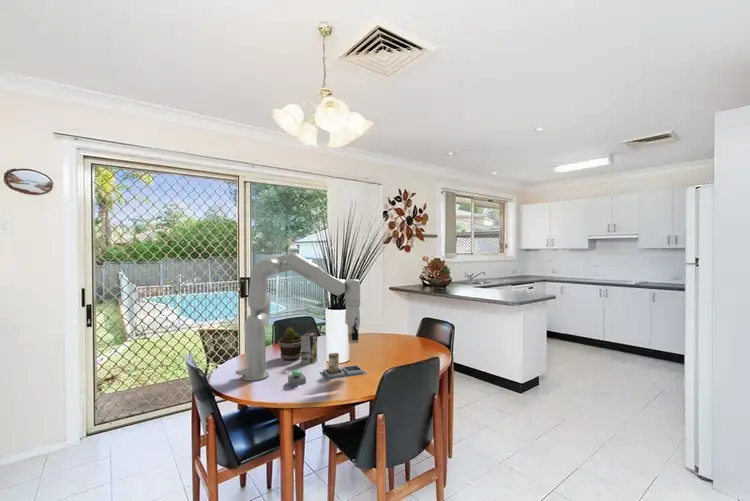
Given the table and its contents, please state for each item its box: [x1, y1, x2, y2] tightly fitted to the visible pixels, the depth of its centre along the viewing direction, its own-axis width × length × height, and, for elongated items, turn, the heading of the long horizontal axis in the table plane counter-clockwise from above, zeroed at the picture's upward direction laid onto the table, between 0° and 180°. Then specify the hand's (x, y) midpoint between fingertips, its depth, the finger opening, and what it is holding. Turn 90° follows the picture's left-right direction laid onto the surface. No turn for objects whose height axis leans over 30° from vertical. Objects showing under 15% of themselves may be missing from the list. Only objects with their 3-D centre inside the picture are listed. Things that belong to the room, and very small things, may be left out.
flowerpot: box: [277, 326, 301, 362], centre depth 212 cm, size 14×15×20 cm
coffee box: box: [300, 332, 318, 366], centre depth 204 cm, size 9×6×16 cm
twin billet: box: [328, 352, 340, 374], centre depth 181 cm, size 5×5×10 cm
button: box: [291, 369, 303, 378], centre depth 171 cm, size 4×4×4 cm
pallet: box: [318, 364, 368, 381], centre depth 183 cm, size 22×12×3 cm, turn 113°
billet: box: [347, 325, 359, 344], centre depth 185 cm, size 5×5×10 cm
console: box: [287, 373, 307, 389], centre depth 171 cm, size 7×7×4 cm
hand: (353, 338), depth 185 cm, fingers closed on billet, 5 cm apart
